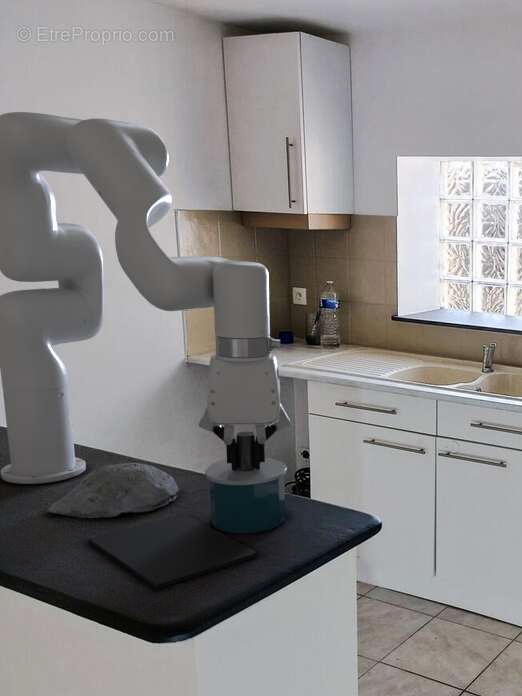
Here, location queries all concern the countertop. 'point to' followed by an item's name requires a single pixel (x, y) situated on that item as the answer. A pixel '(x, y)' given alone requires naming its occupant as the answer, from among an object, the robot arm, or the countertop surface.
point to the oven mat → (172, 550)
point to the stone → (118, 492)
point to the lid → (245, 466)
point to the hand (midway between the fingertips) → (246, 466)
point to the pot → (248, 506)
